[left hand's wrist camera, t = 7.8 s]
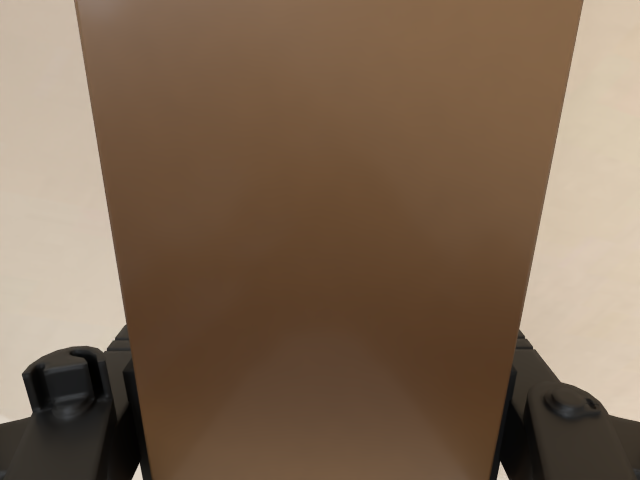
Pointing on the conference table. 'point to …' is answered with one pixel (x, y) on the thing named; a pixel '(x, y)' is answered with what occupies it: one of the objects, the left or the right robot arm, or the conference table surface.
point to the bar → (325, 223)
